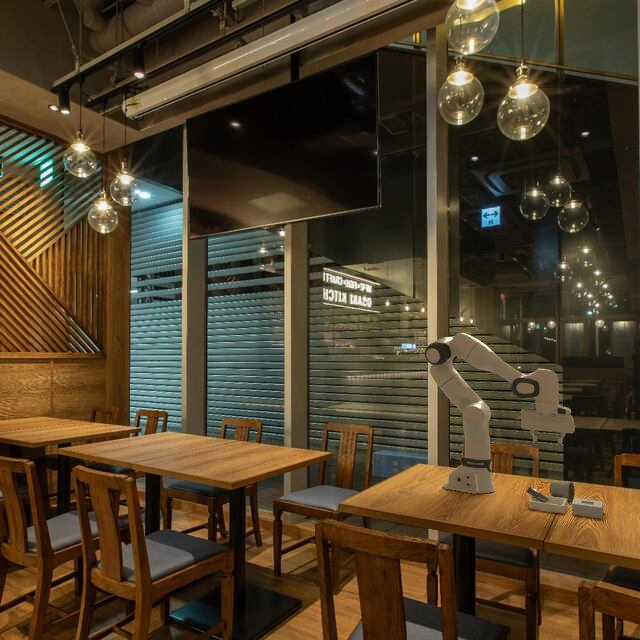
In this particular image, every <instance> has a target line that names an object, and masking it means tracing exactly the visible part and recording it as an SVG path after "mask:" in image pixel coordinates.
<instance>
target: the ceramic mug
mask: <svg viewBox="0 0 640 640" xmlns="http://www.w3.org/2000/svg"><path fill="white" fill-rule="evenodd" d="M575 488H576V487H575V485H574V483H573V482H572V481H564V480H553V481H551V482H550V484H549V494H550V496H551V497H559V498H566V499H567V502H573V500H574V498H575V497H576V496H575V495H576V489H575Z"/></svg>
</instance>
